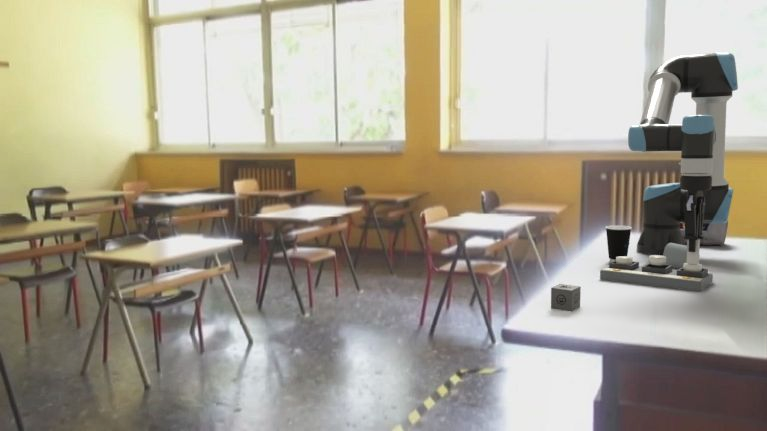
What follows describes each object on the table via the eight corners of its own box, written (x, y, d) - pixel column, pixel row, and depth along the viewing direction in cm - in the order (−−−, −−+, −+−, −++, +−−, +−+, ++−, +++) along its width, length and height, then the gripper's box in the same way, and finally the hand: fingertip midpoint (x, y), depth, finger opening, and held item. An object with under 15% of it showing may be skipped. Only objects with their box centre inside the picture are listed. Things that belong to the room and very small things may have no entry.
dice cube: (559, 304, 154) (560, 283, 153) (580, 307, 151) (580, 286, 150) (550, 308, 150) (551, 287, 150) (571, 312, 147) (571, 290, 146)
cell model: (730, 217, 224) (667, 216, 232) (729, 247, 225) (667, 246, 233) (727, 212, 235) (667, 212, 244) (726, 241, 237) (667, 240, 245)
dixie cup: (634, 263, 200) (635, 228, 199) (608, 263, 201) (609, 228, 199) (626, 259, 208) (627, 225, 207) (601, 259, 209) (602, 225, 207)
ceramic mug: (689, 273, 185) (691, 247, 184) (661, 269, 191) (662, 243, 190) (704, 268, 192) (705, 243, 191) (676, 265, 198) (678, 240, 197)
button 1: (619, 262, 186) (619, 255, 185) (634, 264, 183) (634, 257, 183) (613, 264, 182) (613, 258, 182) (629, 266, 179) (629, 259, 179)
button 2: (685, 269, 174) (686, 262, 174) (703, 271, 171) (703, 263, 171) (681, 272, 171) (681, 264, 171) (699, 274, 168) (699, 266, 168)
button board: (615, 271, 189) (615, 258, 188) (712, 282, 172) (713, 268, 172) (600, 279, 180) (600, 265, 179) (700, 291, 163) (701, 276, 163)
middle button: (651, 261, 180) (651, 254, 180) (668, 263, 177) (668, 256, 177) (646, 264, 176) (646, 257, 176) (663, 266, 174) (663, 258, 173)
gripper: (687, 173, 175) (684, 258, 178) (673, 175, 166) (670, 266, 168) (717, 173, 171) (714, 261, 173) (705, 176, 161) (701, 269, 163)
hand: (692, 263), depth 171 cm, fingers closed
